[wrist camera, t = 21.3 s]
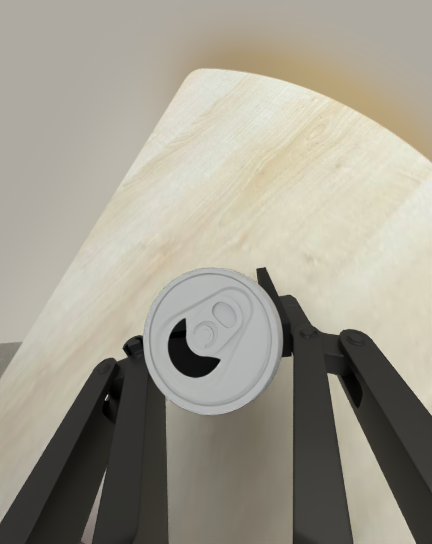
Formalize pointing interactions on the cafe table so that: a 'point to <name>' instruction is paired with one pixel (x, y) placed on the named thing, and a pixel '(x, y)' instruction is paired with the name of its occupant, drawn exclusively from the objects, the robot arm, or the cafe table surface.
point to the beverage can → (213, 341)
